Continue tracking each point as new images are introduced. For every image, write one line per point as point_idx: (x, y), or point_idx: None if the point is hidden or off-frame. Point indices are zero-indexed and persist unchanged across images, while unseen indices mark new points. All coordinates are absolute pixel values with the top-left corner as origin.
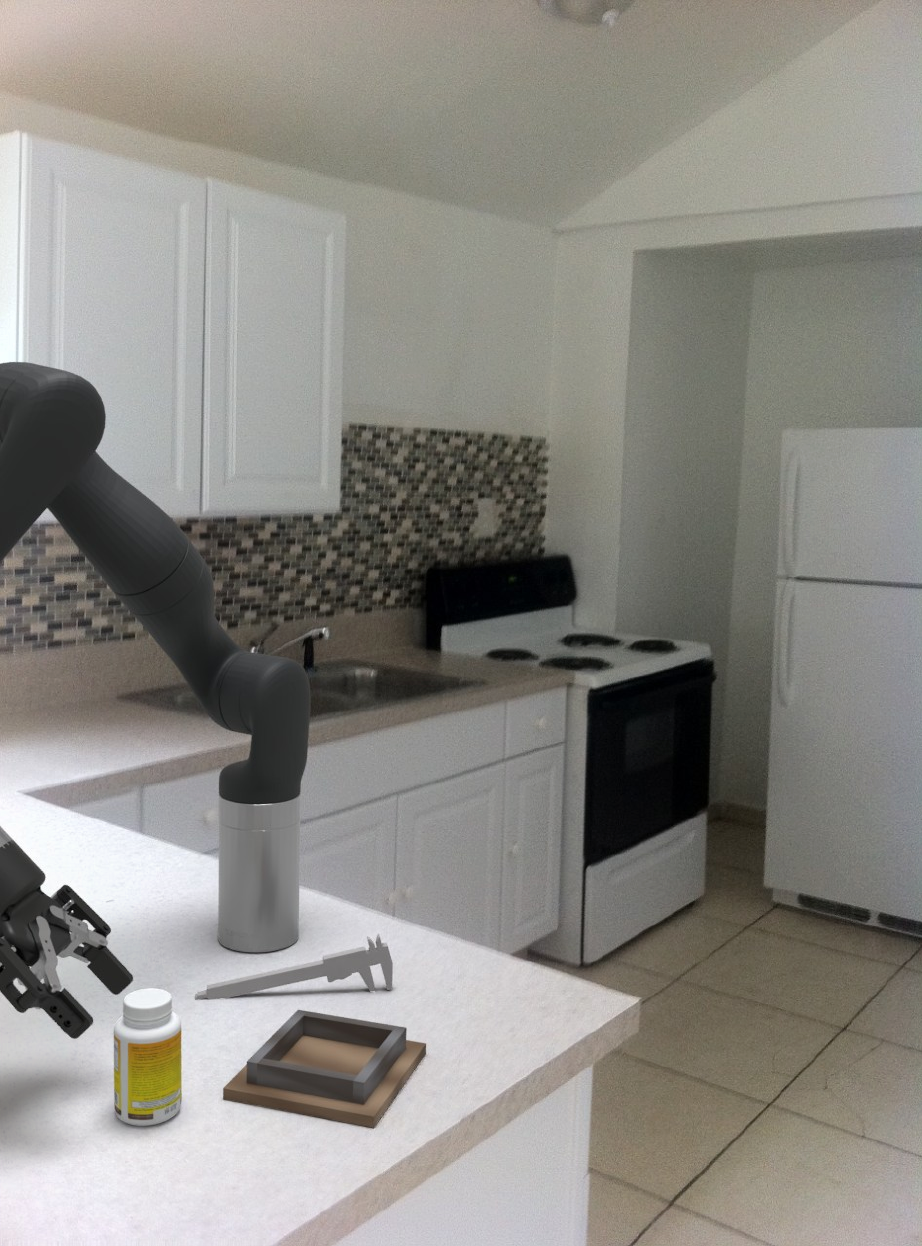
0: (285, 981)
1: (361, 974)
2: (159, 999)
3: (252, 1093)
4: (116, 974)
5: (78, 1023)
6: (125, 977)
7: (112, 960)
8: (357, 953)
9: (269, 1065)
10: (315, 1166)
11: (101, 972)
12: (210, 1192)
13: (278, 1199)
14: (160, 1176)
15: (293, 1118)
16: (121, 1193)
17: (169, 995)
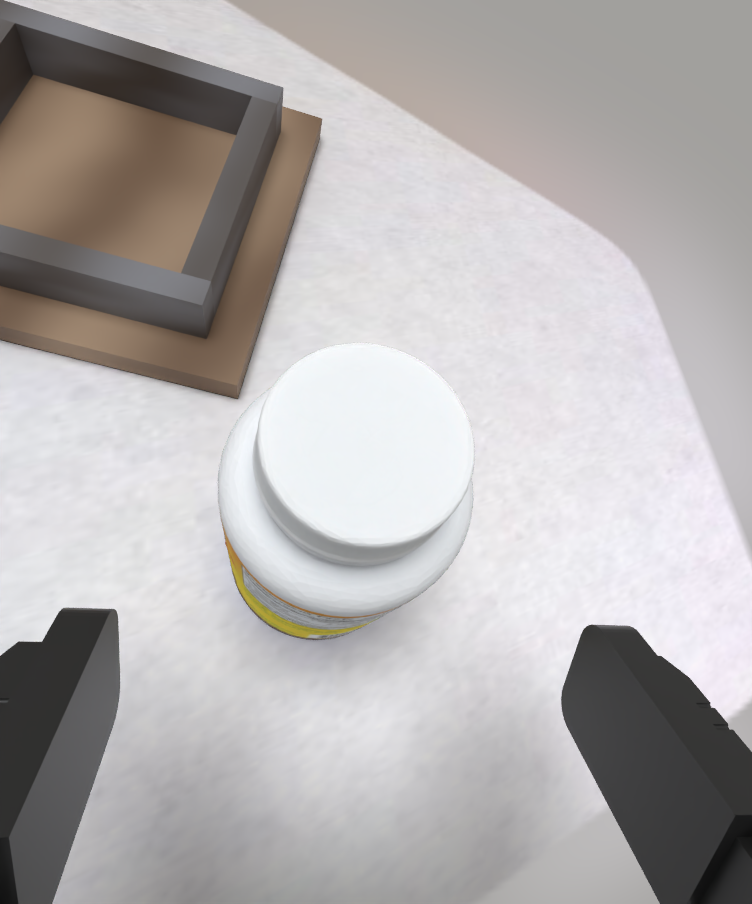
0: None
1: None
2: (378, 382)
3: (256, 320)
4: (90, 700)
5: (673, 668)
6: (107, 636)
7: (53, 737)
8: None
9: (220, 254)
10: (453, 217)
11: (63, 821)
12: (567, 361)
13: (554, 262)
14: (548, 456)
15: (302, 258)
16: (616, 511)
17: (332, 351)
